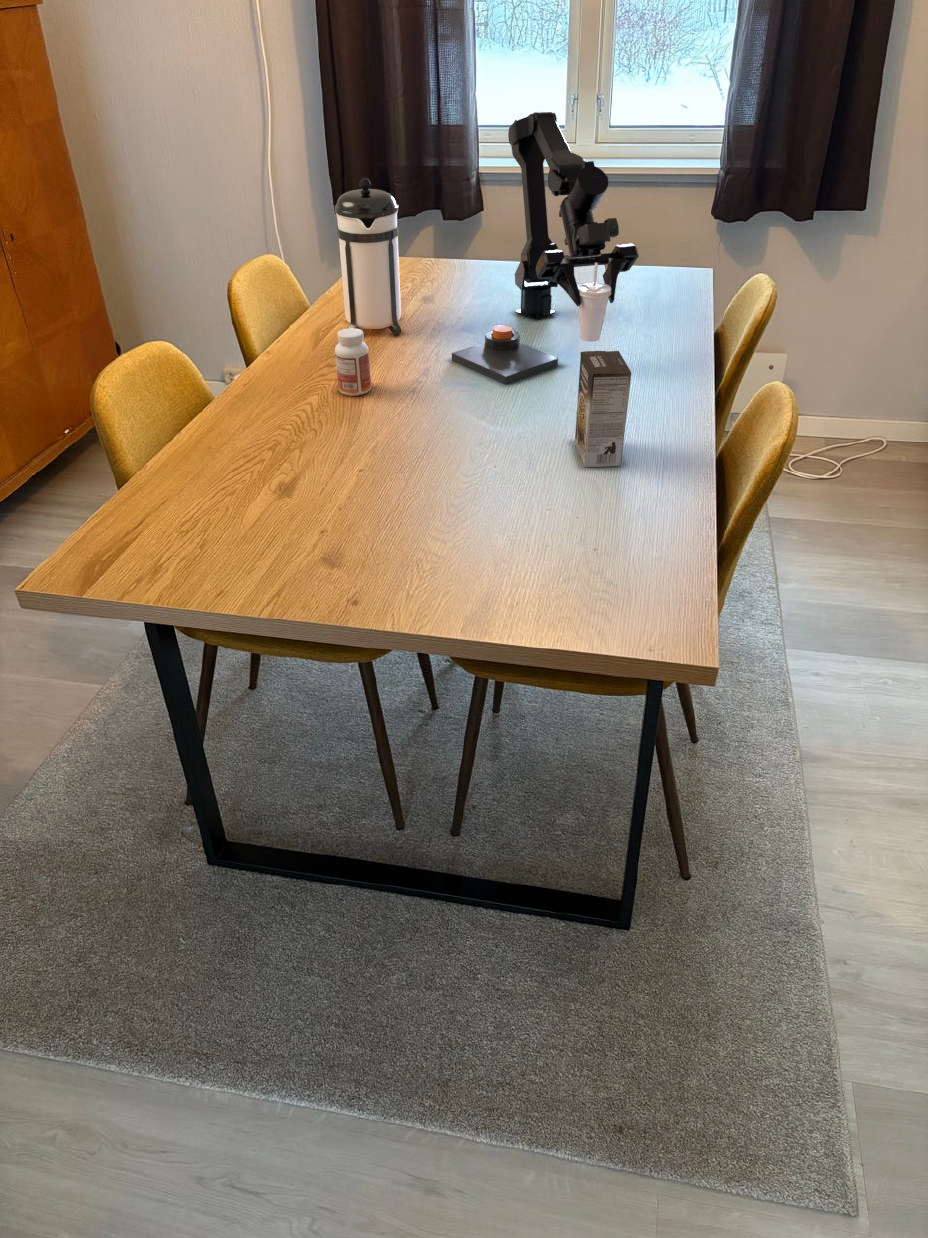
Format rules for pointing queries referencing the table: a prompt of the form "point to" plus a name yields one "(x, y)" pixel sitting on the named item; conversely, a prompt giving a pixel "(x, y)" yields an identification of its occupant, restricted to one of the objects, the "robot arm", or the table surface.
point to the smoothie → (592, 308)
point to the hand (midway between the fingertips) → (595, 303)
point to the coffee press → (369, 258)
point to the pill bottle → (352, 363)
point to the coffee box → (602, 408)
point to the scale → (504, 359)
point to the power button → (502, 332)
